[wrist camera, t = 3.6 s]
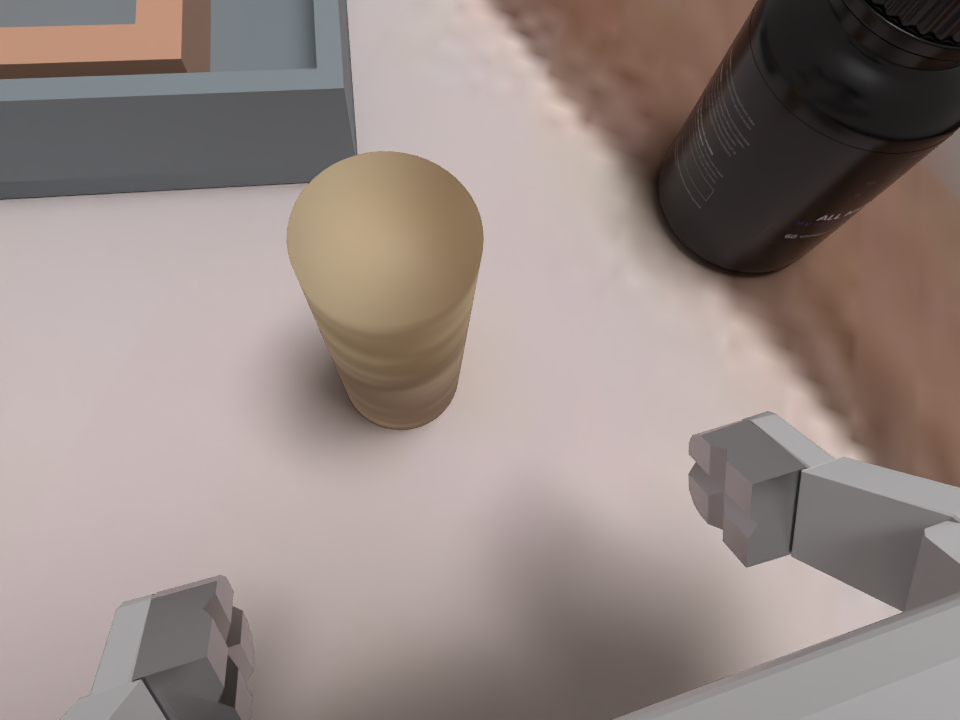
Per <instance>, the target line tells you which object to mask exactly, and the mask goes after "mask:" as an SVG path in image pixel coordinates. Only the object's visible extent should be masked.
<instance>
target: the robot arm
mask: <svg viewBox="0 0 960 720" xmlns="http://www.w3.org/2000/svg"><path fill="white" fill-rule="evenodd" d="M689 455H690V456H691V457H692V458H693V459H694V460H695V461H696V463H695V465H694V466H693V468H692V469H691V471H690V472H689V474H688V475H689V491H690V494H691V497H692V500H693V503H694V505H695V507H696V509H697V510H698V512H699V514H700V515H701V516H702V518H703V519H704V520H705V521H706V522H707V524H709V525H712V526H715V527H717V528H720V529H722V530H723V542H724V543H725V544H726V545H727V547H728V548H729V549H730V550H731V551H732V552H733V553H734V554H735V556H736V557H737V558H738V559H739V560H740V561H741V562H742V564H743V565H744V566H745V567H746V568H747V567H750V566H754V565H757V564H760V563H763V562H767V561H770V560H773V559H776V558H780V557H783V556H786V555H789V554H792V555H791V557H793V558H795V559H797V560H799V561H802V562H804V563H806V564H808V565H810V566H812V567H814V568H816V569H818V570H820V571H822V572H824V573H826V574H828V575H830V576H832V577H834V578H836V579H838V580H840V581H842V582H844V583H846V584H848V585H850V586H852V587H854V588H856V589H858V590H860V591H862V592H864V593H866V594H868V595H870V596H872V597H874V598H876V599H878V600H880V601H882V602H884V603H886V604H888V605H890V606H892V607H895V608H897V609H899V610H901V611H903V612H902V613H900V614H897V615H894V616H891V617H889V618H886V619H883V620H880V621H878V622H875V623H872V624H870V625H867V626H864V627H861V628H859V629H856V630H853V631H851V632H848V633H845V634H842V635H840V636H837V637H834V638H831V639H829V640H826V641H823V642H821V643H818V644H815V645H812V646H810V647H807V648H804V649H802V650H799V651H796V652H793V653H791V654H788V655H785V656H783V657H780V658H777V659H774V660H772V661H769V662H766V663H764V664H761V665H758V666H755V667H753V668H750V669H747V670H745V671H742V672H739V673H736V674H734V675H731V676H728V677H726V678H723V679H720V680H717V681H715V682H712V683H709V684H707V685H704V686H701V687H699V688H696V689H693V690H690V691H688V692H685V693H682V694H680V695H677V696H674V697H671V698H669V699H666V700H663V701H661V702H658V703H655V704H652V705H650V706H647V707H644V708H642V709H639V710H636V711H633V712H631V713H628V714H625V715H622V716H620V717H617V718H614V719H612V720H960V488H958V487H955V486H951V485H947V484H943V483H940V482H936V481H932V480H928V479H925V478H921V477H917V476H913V475H910V474H906V473H902V472H898V471H895V470H891V469H887V468H883V467H880V466H876V465H872V464H868V463H865V462H861V461H857V460H853V459H850V458H846V457H843V458H839V459H835V458H834V457H833V456H831V455H830V454H829V453H827V452H826V451H825V450H823V449H822V448H821V447H819V446H818V445H817V444H815V443H814V442H813V441H811V440H810V439H809V438H807V437H806V436H805V435H803V434H802V433H801V432H800V431H798V430H797V429H796V428H794V427H793V426H792V425H790V424H789V423H788V422H786V421H785V420H784V419H782V418H781V417H780V416H778V415H777V414H775V413H772V412H769V411H767V412H764V413H761V414H758V415H755V416H751V417H748V418H745V419H743V420H742V421H737V422H734V423H731V424H727V425H724V426H721V427H718V428H714V429H711V430H708V431H704V432H701V433H698V434H695V435H692V437H691V439H690V442H689ZM233 593H234V591H233V589H232V587H231V585H230V584H229V582H228V580H227V578H226V577H225V576H222V575H219V576H215V577H212V578H208V579H204V580H201V581H197V582H193V583H190V584H186V585H182V586H179V587H175V588H171V589H168V590H164V591H160V592H157V593H156V594H152V595H148V596H144V597H141V598H137V599H133V600H130V601H126V602H123V603H122V604H121V605H120V606H119V607H118V609H117V610H116V612H115V615H114V619H113V622H112V625H111V628H110V632H109V635H108V638H107V641H106V645H105V648H104V651H103V654H102V658H101V661H100V664H99V667H98V671H97V674H96V677H95V680H94V684H93V687H92V690H91V693H90V695H89V696H86V697H83V698H80V699H79V700H78V701H77V702H76V703H75V704H74V705H73V706H72V707H71V708H70V710H69V711H68V712H67V713H66V714H65V715H64V716H63V717H62V718H61V719H60V720H251V705H252V695H251V693H250V691H249V689H248V687H247V685H246V683H245V682H246V681H247V679H248V678H249V676H250V675H251V673H252V672H253V670H254V650H253V642H252V635H251V631H250V628H249V624H248V621H247V619H246V617H245V615H244V612H243V611H242V610H240V609H238V608H235V607H233V606H232V604H233Z"/></svg>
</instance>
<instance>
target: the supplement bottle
mask: <svg viewBox="0 0 960 720" xmlns="http://www.w3.org/2000/svg"><path fill="white" fill-rule="evenodd" d="M959 128H960V0H758V1H757V3H756V4H755V6H754V8H753V9H752V11H751V13H750V14H749V16H748V18H747V19H746V21H745V23H744V24H743V26H742V28H741V29H740V31H739V33H738V34H737V36H736V38H735V39H734V41H733V43H732V44H731V46H730V48H729V49H728V51H727V53H726V54H725V56H724V58H723V59H722V61H721V63H720V64H719V66H718V68H717V69H716V71H715V73H714V75H713V76H712V78H711V80H710V81H709V83H708V85H707V86H706V88H705V90H704V91H703V93H702V95H701V96H700V98H699V100H698V101H697V103H696V105H695V106H694V108H693V110H692V111H691V113H690V115H689V116H688V118H687V120H686V121H685V123H684V125H683V126H682V128H681V130H680V131H679V133H678V135H677V136H676V138H675V140H674V142H673V144H672V145H671V147H670V149H669V151H668V152H667V154H666V156H665V159H664V161H663V163H662V166H661V169H660V174H659V182H658V191H659V199H660V203H661V207H662V210H663V213H664V216H665V218H666V220H667V222H668V224H669V225H670V227H671V229H672V230H673V231H674V233H675V234H676V235H677V237H678V238H679V239H680V240H681V241H682V242H683V243H684V244H685V245H686V246H687V247H688V248H689V249H690V250H692V251H693V252H694V253H695V254H697V255H698V256H700V257H701V258H703V259H705V260H707V261H708V262H710V263H713V264H715V265H717V266H720V267H722V268H725V269H729V270H733V271H738V272H748V273H760V272H768V271H773V270H776V269H780V268H783V267H785V266H788V265H790V264H792V263H793V262H795V261H797V260H798V259H800V258H801V257H803V256H804V255H805V254H807V253H808V252H809V251H810V250H812V249H813V248H814V247H815V246H817V245H818V244H819V243H821V242H822V241H823V240H824V239H826V238H827V237H828V236H829V235H830V234H832V233H833V232H834V231H835V230H837V229H838V228H839V227H840V226H841V225H843V224H844V223H845V222H846V221H847V220H849V219H850V218H851V217H852V216H854V215H855V214H856V213H857V212H858V211H860V210H861V209H862V208H863V207H865V206H866V205H867V204H868V203H869V202H871V201H872V200H873V199H874V198H876V197H877V196H878V195H879V194H880V193H882V192H883V191H884V190H885V189H887V188H888V187H889V186H890V185H891V184H893V183H894V182H895V181H896V180H898V179H899V178H900V177H901V176H902V175H904V174H905V173H906V172H907V171H909V170H910V169H911V168H912V167H913V166H915V165H916V164H917V163H918V162H919V161H921V160H922V159H923V158H924V157H926V156H927V155H928V154H929V153H930V152H932V151H933V150H934V149H935V148H937V147H938V146H939V145H940V144H941V143H943V142H944V141H945V140H946V139H947V138H949V137H950V136H951V135H952V134H953V133H954V132H955V131H956V130H958V129H959Z"/></svg>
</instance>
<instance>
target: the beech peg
mask: <svg viewBox="0 0 960 720" xmlns="http://www.w3.org/2000/svg"><path fill="white" fill-rule="evenodd" d="M483 240H484V239H483V227H482V222H481V217H480V214H479V212H478V209H477V206H476V204H475V203H474V201H473V199H472V197H471V195H470V194H469V193H468V191H467V190H466V188H465V187H464V186H463V185H462V184H461V183H460V182H459V181H458V180H457V179H456V178H455V177H454V176H453V175H452V174H450V173H449V172H448V171H446V170H445V169H443V168H442V167H440V166H439V165H437V164H435V163H433V162H431V161H429V160H426V159H424V158H421V157H418V156H415V155H410V154H406V153H400V152H370V153H364V154H360V155H355V156H352V157H349V158H346V159H344V160H341V161H339V162H337V163H335V164H333V165H331V166H330V167H328V168H327V169H325V170H324V171H322V172H321V173H320V174H319V175H317V176H316V177H315V178H314V179H313V180H312V181H311V182H310V183H309V184H308V185H307V186H306V187H305V189H304V190H303V191H302V193H301V194H300V196H299V197H298V199H297V201H296V203H295V205H294V207H293V209H292V212H291V215H290V218H289V223H288V228H287V247H288V254H289V258H290V262H291V265H292V267H293V269H294V272H295V274H296V276H297V279H298V281H299V283H300V286H301V288H302V290H303V292H304V295H305V297H306V299H307V302H308V304H309V306H310V309H311V311H312V313H313V315H314V318H315V320H316V322H317V325H318V327H319V329H320V332H321V334H322V336H323V338H324V341H325V343H326V345H327V348H328V350H329V352H330V355H331V357H332V359H333V361H334V364H335V366H336V368H337V371H338V373H339V375H340V378H341V380H342V382H343V384H344V387H345V389H346V391H347V394H348V396H349V398H350V400H351V402H352V404H353V405H354V407H355V408H356V409H357V410H358V412H359V413H360V414H362V415H363V416H364V417H365V418H366V419H368V420H369V421H371V422H373V423H375V424H376V425H379V426H382V427H385V428H389V429H397V430H405V429H412V428H417V427H420V426H423V425H425V424H427V423H429V422H431V421H432V420H434V419H436V418H437V417H438V416H439V415H441V414H442V413H443V411H444V410H445V409H446V408H447V407H448V405H449V404H450V403H451V401H452V399H453V397H454V395H455V392H456V389H457V384H458V379H459V374H460V369H461V363H462V358H463V353H464V347H465V342H466V337H467V331H468V326H469V321H470V315H471V310H472V305H473V299H474V294H475V288H476V283H477V278H478V272H479V267H480V262H481V256H482V251H483Z"/></svg>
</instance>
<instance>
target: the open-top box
mask: <svg viewBox="0 0 960 720" xmlns="http://www.w3.org/2000/svg"><path fill="white" fill-rule="evenodd" d="M355 155H357V141H356V127H355V114H354V100H353V86H352V72H351V58H350V44H349V30H348V16H347V2H346V0H0V199H12V198H30V197H48V196H67V195H85V194H103V193H122V192H140V191H159V190H177V189H195V188H214V187H232V186H251V185H269V184H287V183H306V182H311V181H312V180H313V179H314V178H315V177H316V176H317V175H319V174H320V173H321V172H322V171H324V170H325V169H327V168H328V167H330V166H331V165H333V164H335V163H337V162H339V161H341V160H344V159H346V158H349V157H352V156H355Z"/></svg>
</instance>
